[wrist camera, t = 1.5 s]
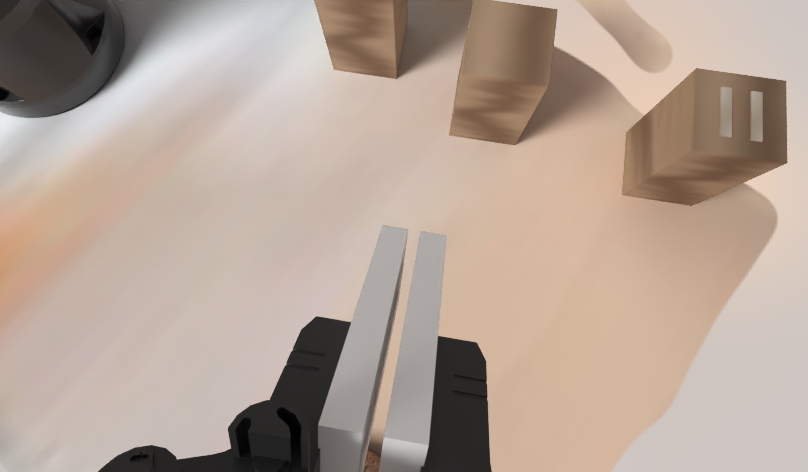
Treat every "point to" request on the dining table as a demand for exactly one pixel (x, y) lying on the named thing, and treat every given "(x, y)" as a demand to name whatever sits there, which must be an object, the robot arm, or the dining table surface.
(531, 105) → the unmarked block
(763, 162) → the marked block 1
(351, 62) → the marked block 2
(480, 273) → the dining table surface
